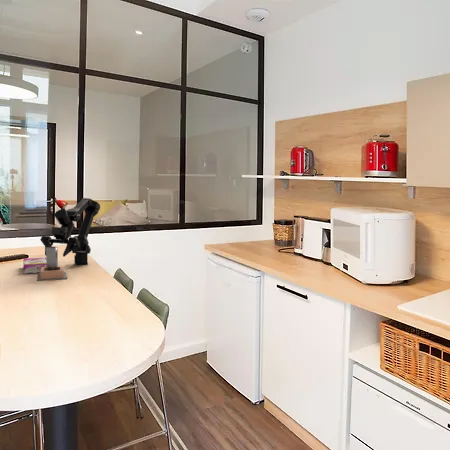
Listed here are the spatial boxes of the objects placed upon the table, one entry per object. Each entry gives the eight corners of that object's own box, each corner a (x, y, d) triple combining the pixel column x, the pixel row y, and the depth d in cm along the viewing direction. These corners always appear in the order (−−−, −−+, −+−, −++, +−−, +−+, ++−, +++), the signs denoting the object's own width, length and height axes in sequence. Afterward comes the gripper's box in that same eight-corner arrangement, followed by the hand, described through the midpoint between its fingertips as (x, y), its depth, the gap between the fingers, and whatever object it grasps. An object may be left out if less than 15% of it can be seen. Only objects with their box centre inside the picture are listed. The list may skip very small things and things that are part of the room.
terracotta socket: (66, 272, 202) (66, 265, 201) (66, 279, 190) (66, 271, 189) (38, 274, 197) (37, 266, 196) (36, 280, 185) (36, 272, 184)
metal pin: (55, 274, 197) (55, 246, 195) (59, 276, 193) (59, 247, 192) (45, 275, 194) (44, 247, 192) (48, 277, 190) (48, 248, 188)
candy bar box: (46, 256, 215) (48, 263, 201) (46, 265, 216) (48, 272, 201) (22, 257, 210) (23, 264, 195) (23, 267, 210) (23, 274, 196)
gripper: (41, 219, 199) (29, 245, 189) (77, 221, 197) (66, 247, 187) (50, 233, 207) (39, 258, 198) (84, 235, 206) (74, 260, 196)
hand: (54, 255), depth 194 cm, fingers open, 9 cm apart
